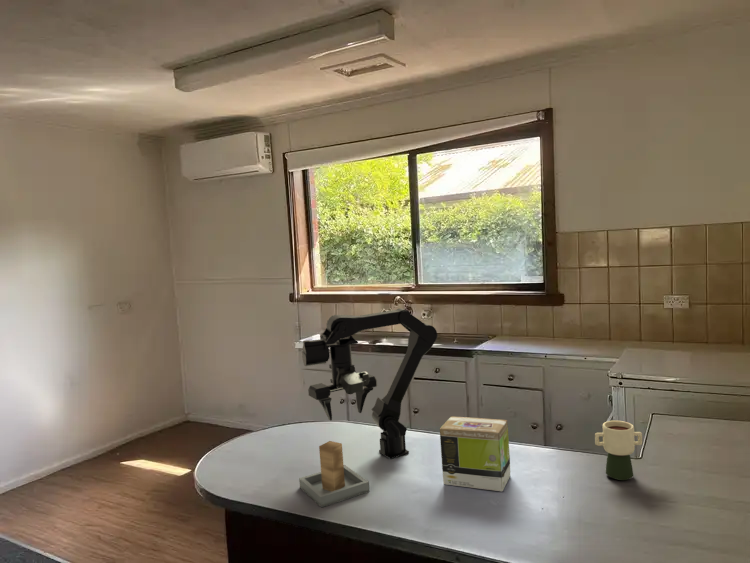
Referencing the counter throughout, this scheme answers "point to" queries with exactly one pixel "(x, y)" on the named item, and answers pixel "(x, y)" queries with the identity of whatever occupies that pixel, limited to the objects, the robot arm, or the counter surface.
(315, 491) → the tray
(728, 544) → the counter surface
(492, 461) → the tea box
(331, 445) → the oak post
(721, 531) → the counter surface
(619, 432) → the character mug
